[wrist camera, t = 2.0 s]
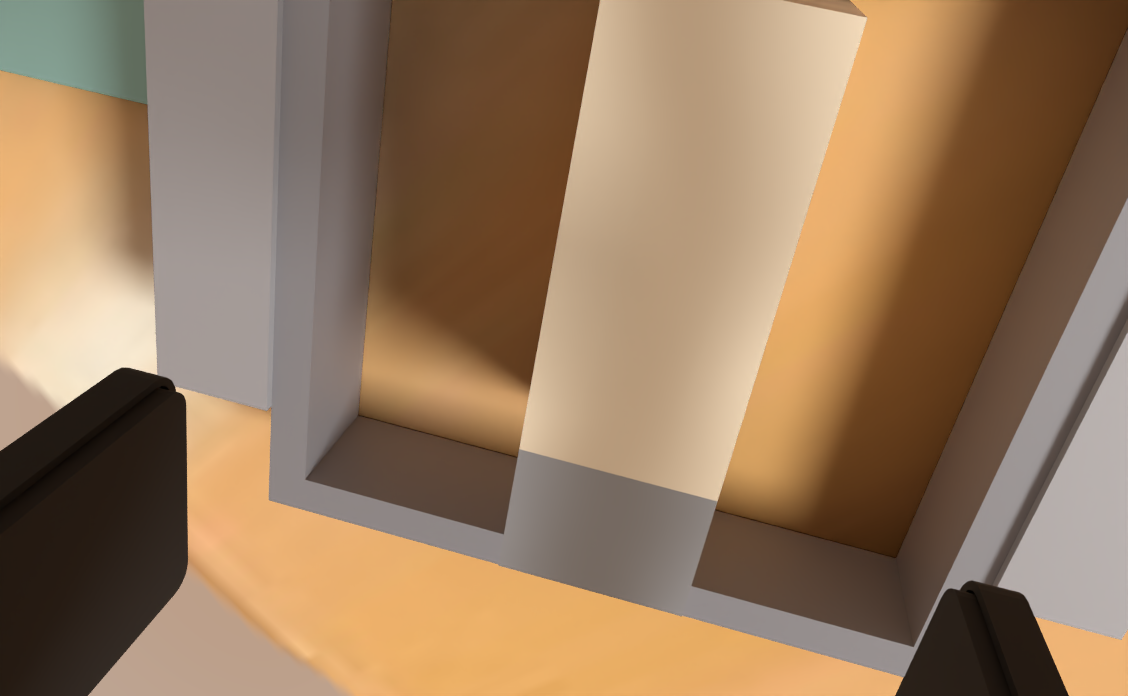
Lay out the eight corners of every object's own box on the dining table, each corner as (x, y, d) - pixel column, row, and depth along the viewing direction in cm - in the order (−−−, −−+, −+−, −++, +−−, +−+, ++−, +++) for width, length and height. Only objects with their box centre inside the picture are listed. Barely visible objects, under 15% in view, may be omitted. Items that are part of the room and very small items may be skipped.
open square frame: (1407, -74, 17) (1559, -73, 14) (1026, 624, 25) (1066, 729, 22) (238, -287, 20) (131, -329, 16) (233, 410, 28) (161, 476, 25)
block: (836, -13, 20) (867, 17, 13) (702, 444, 25) (681, 616, 19) (656, -49, 20) (606, -36, 14) (564, 408, 25) (498, 565, 19)
